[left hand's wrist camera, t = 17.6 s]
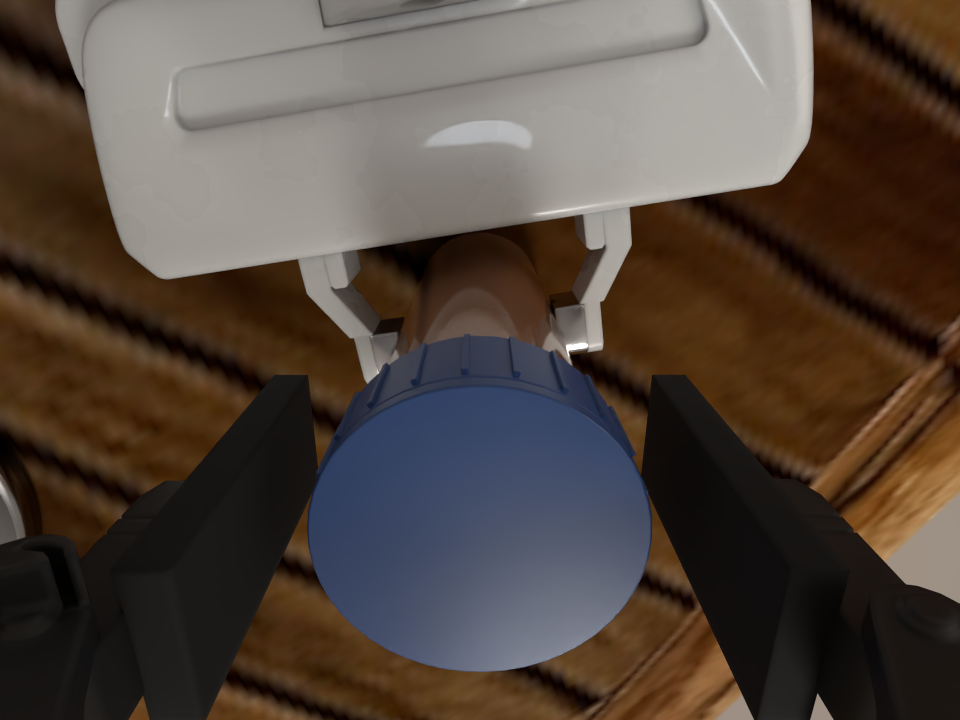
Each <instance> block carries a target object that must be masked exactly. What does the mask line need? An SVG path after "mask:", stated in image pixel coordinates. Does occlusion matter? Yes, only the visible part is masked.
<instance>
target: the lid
mask: <svg viewBox="0 0 960 720" xmlns="http://www.w3.org/2000/svg"><path fill="white" fill-rule="evenodd" d="M635 455H636V454H635V452H634V450H633V448H632V446H631V443H630V441H629V439H628V437H627V435H626V433H625V431H624V429H623V427H622V425H621V423H620V421H619V419H618V417H617V415H616V413H615V411H614V409H613V407H612V406H610V407H608V406H607V404H606V402H605V401H604V399H603V398H602V397H601V395H600V394H599V392H598V391H597V389H596V388H595V386H594V384H593V382H592V380H591V377H590V376H589V375H588V374H586V375H585V376H584V375H583V374H582V373H580V372H579V371H578V370H577V369H575V368H574V367H573V366H572V365H570V364H569V363H568V362H566V361H565V360H563V359H561V358H560V357H558V355H557V352H555V351H553V350H551V352H549V351H546V350H544V349H542V348H540V347H537V346H535V345H532V344H529V343H525V342H522V341H518V340H515V337H512V336H509V339H508V338H502V337H496V336H470V334H464V337H456V338H451V339H446V340H442V341H437V342H434V343H431V344H428V345H426V343H422V344H420V347H419V348H417V349H415V350H413V351H411V352H409V353H407V354H405V355H403V356H401V357H399V358H398V359H396V360H395V361H394V362H392V363H391V364H389V365H388V363H385V364H384V365H383V366H382V368H381V370H380V372H379V373H378V374H377V375H376V376H375V377H374V378H373V379H372V380H371V381H370V382H369V383H368V384H367V385H366V387H365V388H364V389H363V390H362V392H361V393H359V392H358V391H357V392H356V393H355V394H354V396H353V398H352V401H351V403H350V405H349V407H348V409H347V411H346V413H345V415H344V417H343V419H342V421H341V423H340V425H339V426H338V428H337V430H336V432H335V434H334V437H333V439H332V441H331V443H330V445H329V447H328V449H327V451H326V453H325V455H324V457H323V459H322V461H321V463H320V466H319V468H318V470H317V472H316V474H315V478H317V479H318V480H317V482H316V484H315V487H314V489H313V493H312V497H311V501H310V505H309V510H308V524H307V532H308V544H309V550H310V554H311V558H312V562H313V566H314V569H315V571H316V574H317V576H318V578H319V581H320V583H321V585H322V587H323V588H324V590H325V592H326V594H327V595H328V597H329V599H330V600H331V601H332V603H333V604H334V605H335V606H336V608H337V609H338V610H339V612H340V613H341V614H342V615H343V616H344V617H345V618H346V619H347V620H348V621H349V622H350V623H351V624H352V625H353V626H354V627H355V628H356V629H358V630H359V631H360V632H362V633H363V634H364V635H365V636H367V637H368V638H369V639H371V640H372V641H374V642H376V643H377V644H379V645H381V646H382V647H384V648H386V649H387V650H389V651H392V652H394V653H396V654H398V655H400V656H403V657H405V658H407V659H410V660H413V661H416V662H419V663H422V664H425V665H430V666H434V667H439V668H443V669H450V670H458V671H473V672H489V671H502V670H510V669H515V668H521V667H526V666H530V665H533V664H537V663H540V662H544V661H547V660H549V659H552V658H554V657H557V656H559V655H562V654H564V653H566V652H568V651H570V650H572V649H573V648H575V647H577V646H579V645H581V644H582V643H584V642H585V641H587V640H588V639H590V638H591V637H593V636H594V635H596V634H597V633H598V632H599V631H600V630H602V629H603V628H604V627H605V626H606V625H607V624H609V623H610V622H611V621H612V620H613V619H614V618H615V616H616V615H617V614H618V613H619V612H620V611H621V610H622V609H623V607H624V606H625V605H626V603H627V602H628V600H629V599H630V597H631V596H632V594H633V593H634V592H635V590H636V588H637V586H638V583H639V581H640V579H641V577H642V575H643V573H644V570H645V566H646V563H647V560H648V557H649V552H650V546H651V539H652V516H651V510H650V503H649V498H648V490H647V488H646V486H645V484H644V481H643V479H642V477H641V475H640V473H639V471H638V469H637V466H636V464H635V462H634V460H633V458H632V457H633V456H635Z"/></svg>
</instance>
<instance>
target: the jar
mask: <svg viewBox="0 0 960 720" xmlns="http://www.w3.org/2000/svg"><path fill="white" fill-rule="evenodd" d="M464 334H470V336H496V337H502V338H508V339H509V336H512V337H515V340H518V341H522V342H525V343H529V344H532V345H535V346H537V347H540V348H542V349H544V350H546V351H549V352H551V350H553V351H555V352H557V355H558V357H560V358H561V359H563V360H565V361H566V362H568V363H569V364H570V365H572V366H573V367H574V368H575V366H574V364H573V361H572V359H571V356H570V354H569V352H568V349H567V347H566V344H565V342H564V339H563V337H562V334H561V332H560V329H559V327H558V324H557V322H556V320H555V317H554V315H553V312H552V310H551V307H550V305H549V302H548V300H547V297H546V295H545V292H544V290H543V287H542V285H541V283H540V280H539V278H538V275H537V273H536V270H535V268H534V266H533V264H532V262H531V260H530V259H529V257H528V256H527V255H526V253H525V252H524V251H523V250H522V249H521V248H520V247H519V246H517V245H516V244H515V243H513V242H512V241H510V240H508V239H506V238H504V237H502V236H499V235H496V234H491V233H483V232H477V233H469V234H464V235H461V236H458V237H455V238H453V239H452V240H450V241H448V242H447V243H445V244H444V245H442V246H441V247H440V248H439V249H438V250H437V251H436V252H435V253H434V254H433V256H432V257H431V258H430V260H429V262H428V263H427V265H426V268H425V270H424V272H423V275H422V277H421V280H420V282H419V285H418V287H417V289H416V292H415V294H414V297H413V299H412V302H411V304H410V307H409V309H408V312H407V314H406V316H405V319H404V321H403V324H402V326H401V329H400V331H399V334H398V336H397V339H396V341H395V343H394V346H393V348H392V351H391V353H390V356H389V358H388V361H387V363H388V365H389V364H391V363H392V362H394V361H395V360H396V359H398V358H399V357H401V356H403V355H405V354H407V353H409V352H411V351H413V350H415V349H417V348H419V347H420V344H422V343H426V345H428V344H431V343H434V342H437V341H442V340H446V339H451V338H456V337H464Z"/></svg>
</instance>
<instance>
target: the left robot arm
mask: <svg viewBox="0 0 960 720" xmlns="http://www.w3.org/2000/svg"><path fill="white" fill-rule="evenodd" d="M317 470H318V463H317V454H316V445H315V436H314V427H313V418H312V409H311V400H310V391H309V382H308V375H274V377H273V378H272V379H271V380H270V381H269V382H268V384H267V385H266V386H265V387H264V388H263V390H262V391H261V392H260V393H259V394H258V395H257V397H256V398H255V399H254V400H253V401H252V402H251V404H250V405H249V406H248V407H247V408H246V410H245V411H244V412H243V413H242V414H241V415H240V417H239V418H238V419H237V420H236V421H235V422H234V424H233V425H232V426H231V427H230V428H229V430H228V431H227V432H226V433H225V434H224V435H223V437H222V438H221V439H220V440H219V441H218V442H217V444H216V445H215V446H214V447H213V448H212V450H211V451H210V452H209V453H208V454H207V455H206V457H205V458H204V459H203V460H202V461H201V462H200V464H199V465H198V466H197V467H196V468H195V470H194V471H193V472H192V473H191V474H190V475H189V477H188V478H187V479H186V480H185V481H164V482H163V483H161V484H160V485H158V486H156V487H155V488H153V489H151V490H150V491H148V492H146V493H145V494H143V495H141V496H140V497H139V498H138V499H137V500H136V501H135V502H134V503H133V504H132V505H131V506H130V507H129V508H128V509H127V510H126V512H125V513H124V514H123V515H122V519H118V520H117V521H116V522H115V523H114V524H113V525H112V526H111V528H110V529H109V530H108V531H107V535H103V536H102V537H101V538H100V539H99V540H98V541H97V542H96V543H95V545H94V546H93V547H92V548H91V549H90V550H89V551H88V552H87V553H86V554H85V555H84V556H83V557H82V558H81V559H80V560H79V556H78V553H77V549H76V546H75V543H74V542H72V541H71V540H69V539H68V538H67V537H65V536H58V535H51V534H46V535H42V525H41V519H40V513H39V509H38V506H37V502H36V499H35V496H34V494H33V491H32V489H31V486H30V484H29V482H28V481H27V479H26V477H25V475H24V473H23V471H22V470H21V468H20V467H19V465H18V463H17V462H16V460H15V459H14V458H13V456H12V455H11V454H10V452H9V451H8V450H7V449H6V447H5V446H4V445H3V444H2V443H1V442H0V720H128V719H129V718H130V716H131V714H132V713H133V711H134V709H135V708H136V706H137V704H138V703H139V701H140V699H141V698H142V696H144V700H145V704H146V707H147V711H148V715H149V718H150V720H206V718H207V716H208V714H209V712H210V710H211V708H212V706H213V703H214V701H215V699H216V697H217V695H218V693H219V691H220V689H221V686H222V684H223V682H224V680H225V678H226V676H227V674H228V671H229V669H230V667H231V665H232V663H233V661H234V659H235V656H236V654H237V652H238V650H239V648H240V646H241V644H242V641H243V639H244V637H245V635H246V633H247V631H248V629H249V626H250V624H251V622H252V620H253V618H254V616H255V614H256V612H257V609H258V607H259V605H260V603H261V601H262V599H263V597H264V594H265V592H266V590H267V588H268V586H269V584H270V582H271V579H272V577H273V575H274V573H275V571H276V569H277V567H278V564H279V562H280V560H281V558H282V556H283V554H284V552H285V550H286V547H287V545H288V543H289V541H290V539H291V537H292V535H293V532H294V530H295V528H296V526H297V524H298V522H299V520H300V517H301V515H302V513H303V511H304V509H305V507H306V505H307V502H308V500H309V498H310V496H311V494H312V492H313V489H314V487H315V484H316V482H317V480H318V479H317V478H315V474H316V472H317ZM641 477H642V479H643V481H644V484H645V486H646V488H647V490H648V494H649V496H650V498H651V500H652V502H653V505H654V507H655V509H656V511H657V513H658V515H659V517H660V520H661V522H662V524H663V526H664V528H665V530H666V532H667V535H668V537H669V539H670V541H671V543H672V545H673V547H674V550H675V552H676V554H677V556H678V558H679V560H680V562H681V564H682V567H683V569H684V571H685V573H686V575H687V577H688V579H689V582H690V584H691V586H692V588H693V590H694V592H695V594H696V597H697V599H698V601H699V603H700V605H701V607H702V609H703V612H704V614H705V616H706V618H707V620H708V622H709V624H710V626H711V629H712V631H713V633H714V635H715V637H716V639H717V641H718V644H719V646H720V648H721V650H722V652H723V654H724V656H725V659H726V661H727V663H728V665H729V667H730V669H731V671H732V674H733V676H734V678H735V680H736V682H737V684H738V686H739V689H740V691H741V693H742V695H743V697H744V699H745V701H746V703H747V706H748V708H749V710H750V712H751V714H752V716H753V718H754V720H810V718H811V714H812V711H813V707H814V704H815V700H816V696H817V693H818V694H819V696H820V698H821V699H822V701H823V703H824V704H825V706H826V708H827V709H828V711H829V713H830V714H831V716H832V718H833V719H834V720H960V604H959V603H957V602H956V601H954V600H952V599H950V598H948V597H946V596H944V595H942V594H940V593H937V592H934V591H931V590H928V589H925V588H922V587H919V586H914V585H906V584H905V583H904V582H903V581H902V580H901V579H900V578H899V577H898V576H897V575H896V574H895V572H894V571H893V570H892V569H891V568H890V567H889V566H888V565H887V564H886V563H885V562H884V561H883V560H882V559H881V558H880V557H879V555H878V554H877V553H876V552H875V551H874V550H873V549H872V548H871V547H870V546H869V545H868V544H867V543H866V542H865V541H864V540H863V539H862V537H861V536H860V535H859V534H858V533H854V532H853V528H852V527H851V526H850V525H849V524H848V523H847V522H846V521H845V519H844V518H843V517H839V513H838V512H837V511H836V510H835V509H834V508H833V507H832V506H831V505H830V504H829V503H828V501H827V500H826V499H825V498H824V497H823V496H822V495H821V494H819V493H817V492H816V491H814V490H812V489H811V488H809V487H807V486H806V485H804V484H802V483H801V482H799V481H798V480H796V479H773V478H772V477H771V475H770V474H769V473H768V472H767V471H766V470H765V468H764V467H763V466H762V465H761V464H760V462H759V461H758V460H757V459H756V458H755V457H754V455H753V454H752V453H751V452H750V451H749V450H748V448H747V447H746V446H745V445H744V444H743V442H742V441H741V440H740V439H739V438H738V437H737V435H736V434H735V433H734V432H733V431H732V430H731V428H730V427H729V426H728V425H727V424H726V422H725V421H724V420H723V419H722V418H721V417H720V415H719V414H718V413H717V412H716V411H715V410H714V408H713V407H712V406H711V405H710V404H709V402H708V401H707V400H706V399H705V398H704V397H703V395H702V394H701V393H700V392H699V391H698V390H697V388H696V387H695V386H694V385H693V384H692V382H691V381H690V380H689V379H688V378H687V377H686V375H652V382H651V391H650V400H649V409H648V418H647V427H646V436H645V445H644V454H643V463H642V472H641Z"/></svg>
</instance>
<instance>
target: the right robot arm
mask: <svg viewBox="0 0 960 720" xmlns="http://www.w3.org/2000/svg"><path fill="white" fill-rule="evenodd" d="M55 11H56V18H57V23H58V27H59V30H60V33H61V35H62V38H63V41H64V44H65V47H66V49H67V52H68V55H69V58H70V61H71V64H72V66H73V69H74V72H75V74H76V77H77V79H78V81H79V82H80V84H81V86H82V87H83V89H84V91H85V98H86V103H87V109H88V114H89V120H90V125H91V130H92V135H93V140H94V145H95V150H96V154H97V158H98V162H99V166H100V171H101V175H102V179H103V183H104V187H105V190H106V194H107V198H108V202H109V205H110V209H111V212H112V215H113V219H114V222H115V225H116V229H117V231H118V234H119V237H120V240H121V242H122V244H123V246H124V248H125V250H126V251H127V253H128V254H129V255H131V256H132V257H133V258H134V259H135V260H137V261H138V262H139V263H140V264H142V265H143V266H144V267H145V268H146V269H148V270H149V271H150V272H152V273H153V274H154V275H156V276H157V277H159V278H162V279H173V278H180V277H187V276H193V275H199V274H206V273H212V272H219V271H225V270H231V269H238V268H244V267H250V266H257V265H263V264H270V263H276V262H282V261H289V260H295V259H298V262H299V265H300V269H301V273H302V277H303V281H304V284H305V288H306V292H307V294H308V295H309V297H310V298H311V299H312V300H313V301H314V302H315V303H316V304H317V305H318V306H319V307H320V308H321V309H322V310H323V311H324V312H325V313H326V314H327V315H328V316H329V317H330V318H331V319H332V320H333V321H334V322H335V323H336V324H337V325H338V326H339V327H340V328H341V329H342V330H343V331H344V332H345V333H346V335H347V336H348V337H349V338H354V339H355V344H356V348H357V352H358V356H359V360H360V364H361V368H362V372H363V376H364V379H365V381H366V382H367V384H368V383H369V382H370V381H371V380H372V379H373V378H374V377H375V376H376V375H377V374H378V373H379V372H380V370H381V368H382V366H383V365H384V364H385V363H387V361H388V358H389V356H390V353H391V351H392V348H393V346H394V343H395V341H396V339H397V336H398V334H399V331H400V329H401V326H402V324H403V321H404V317H399V318H391V319H384V320H381V317H380V316H379V315H378V314H377V313H376V312H375V310H374V309H373V308H372V307H371V306H370V304H369V303H368V302H367V301H366V300H365V299H364V297H363V296H362V295H361V294H360V293H359V292H358V290H357V289H356V288H355V287H354V286H353V285H352V283H351V281H352V280H353V279H354V278H355V276H356V275H357V274H358V273H359V272H360V270H361V267H360V262H359V257H358V253H357V250H359V249H365V248H371V247H378V246H384V245H391V244H397V243H403V242H410V241H416V240H422V239H429V238H435V237H441V236H448V235H454V234H461V233H467V232H473V231H480V230H486V229H492V228H499V227H505V226H512V225H518V224H524V223H531V222H537V221H543V220H550V219H556V218H562V217H569V216H574V220H575V229H576V236H577V237H578V238H579V239H580V240H581V242H582V243H583V244H584V245H585V246H586V247H587V248H589V251H588V253H587V255H586V257H585V260H584V262H583V264H582V267H581V269H580V271H579V274H578V276H577V278H576V281H575V283H574V285H573V288H572V291H570V292H564V293H559V294H553V295H549V301H550V307H551V310H552V312H553V315H554V317H555V320H556V322H557V324H558V327H559V329H560V332H561V334H562V337H563V339H564V342H565V344H566V347H567V349H568V352H569V354H578V353H585V352H592V351H599V350H602V349H603V333H602V322H601V310H600V301H604V299H605V297H606V295H607V293H608V291H609V289H610V287H611V285H612V283H613V281H614V279H615V277H616V275H617V273H618V271H619V269H620V267H621V265H622V263H623V261H624V259H625V257H626V255H627V253H628V251H629V249H630V247H631V245H632V243H631V226H630V209H629V207H633V206H639V205H645V204H652V203H658V202H664V201H671V200H677V199H683V198H690V197H696V196H703V195H709V194H715V193H722V192H728V191H734V190H741V189H747V188H753V187H760V186H766V185H772V184H775V183H777V182H779V181H781V180H782V179H783V178H784V176H785V175H786V174H787V173H788V171H789V170H790V169H791V167H792V166H793V164H794V163H795V161H796V160H797V158H798V157H799V156H800V154H801V153H802V151H803V150H804V148H805V147H806V145H807V143H808V140H809V137H810V132H811V126H812V113H813V33H812V14H811V0H55Z"/></svg>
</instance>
